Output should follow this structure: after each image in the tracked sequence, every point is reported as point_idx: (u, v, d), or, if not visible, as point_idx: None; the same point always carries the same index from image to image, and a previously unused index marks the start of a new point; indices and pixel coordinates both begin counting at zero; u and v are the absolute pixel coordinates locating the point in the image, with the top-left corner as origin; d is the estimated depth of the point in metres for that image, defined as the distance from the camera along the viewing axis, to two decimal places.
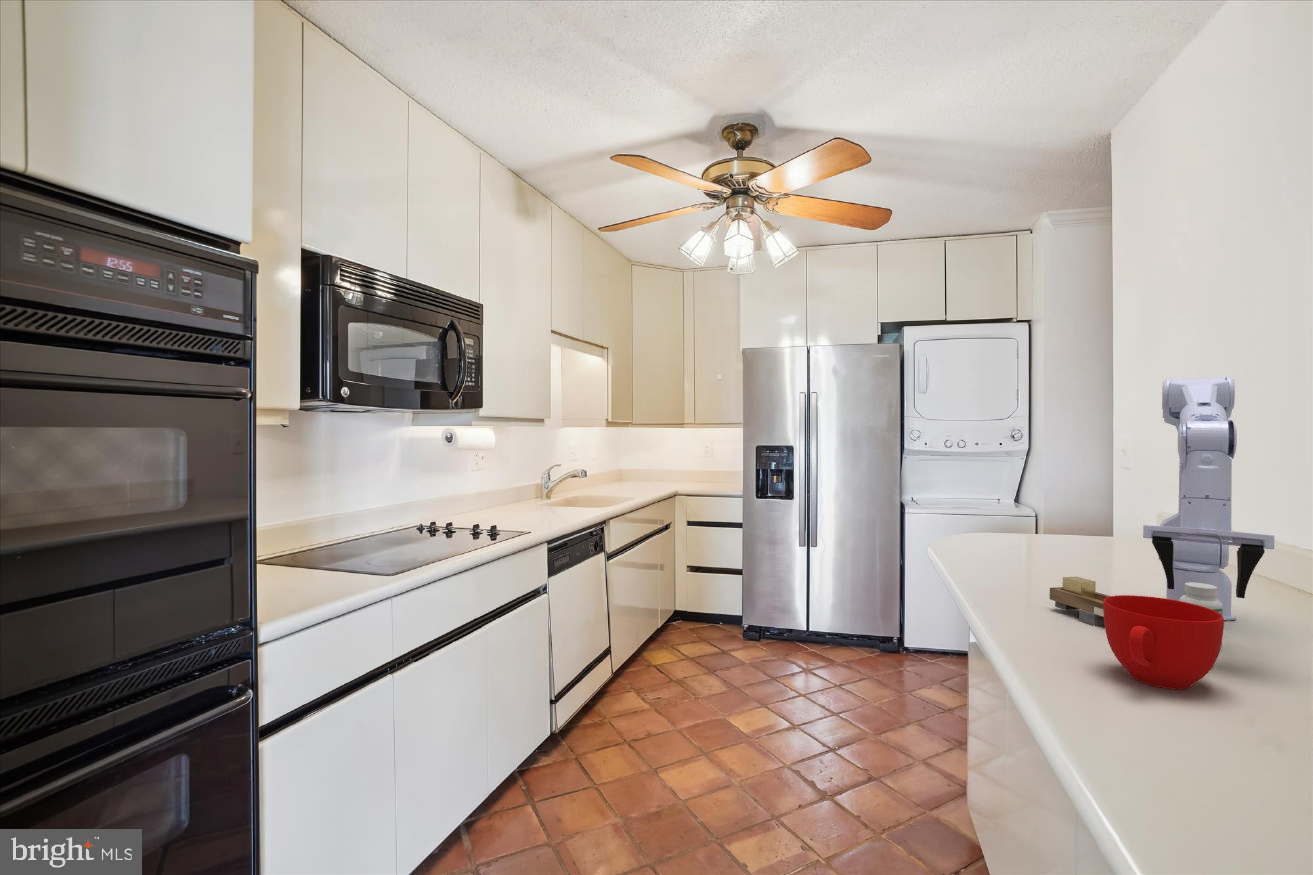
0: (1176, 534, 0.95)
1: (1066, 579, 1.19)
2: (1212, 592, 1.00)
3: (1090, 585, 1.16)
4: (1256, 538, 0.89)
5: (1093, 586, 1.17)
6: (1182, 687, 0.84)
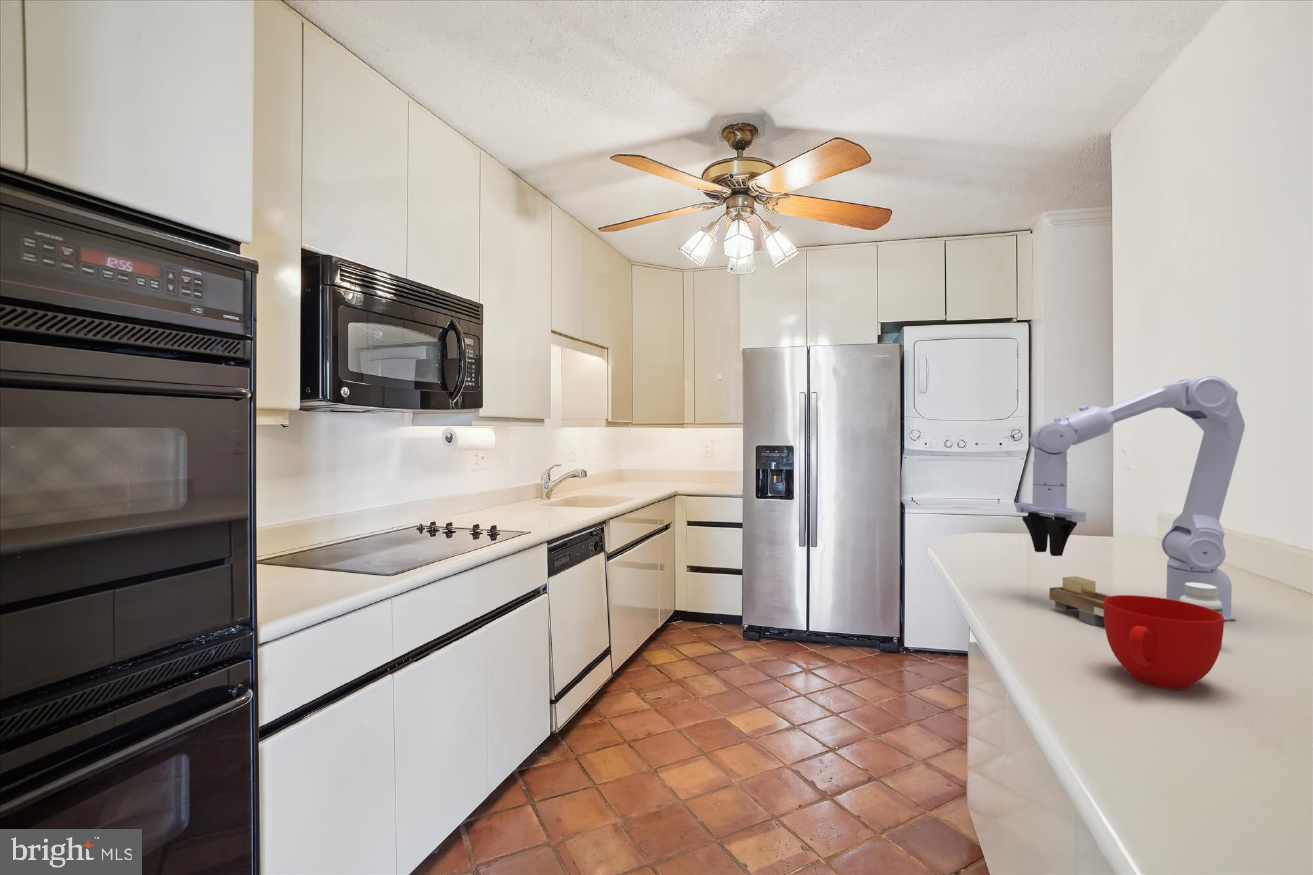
0: None
1: (1066, 579, 1.19)
2: (1212, 592, 1.00)
3: (1090, 585, 1.16)
4: (1067, 514, 1.19)
5: (1093, 586, 1.17)
6: (1182, 687, 0.84)
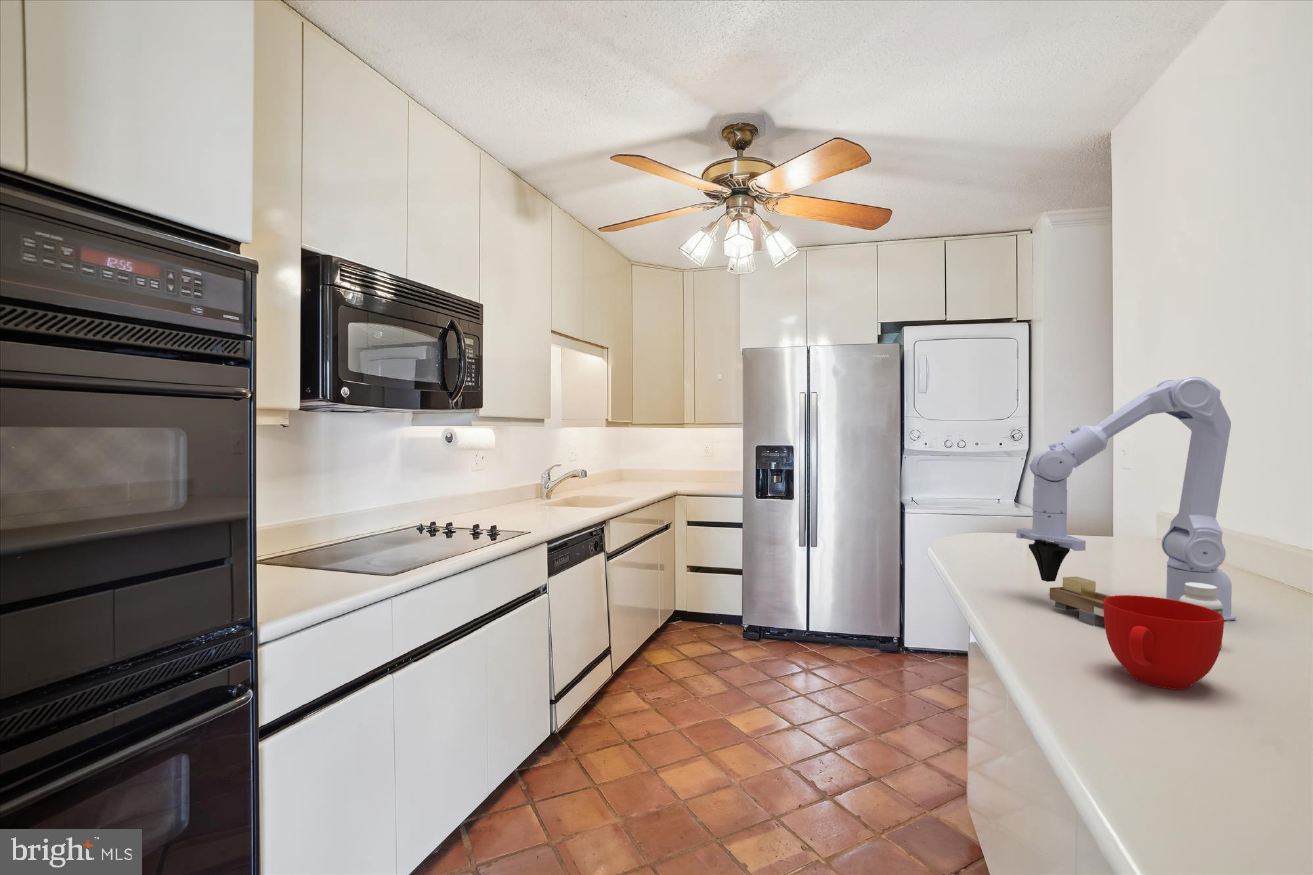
0: None
1: (1066, 579, 1.19)
2: (1212, 592, 1.00)
3: (1090, 585, 1.16)
4: (1067, 542, 1.19)
5: (1093, 586, 1.17)
6: (1182, 687, 0.84)
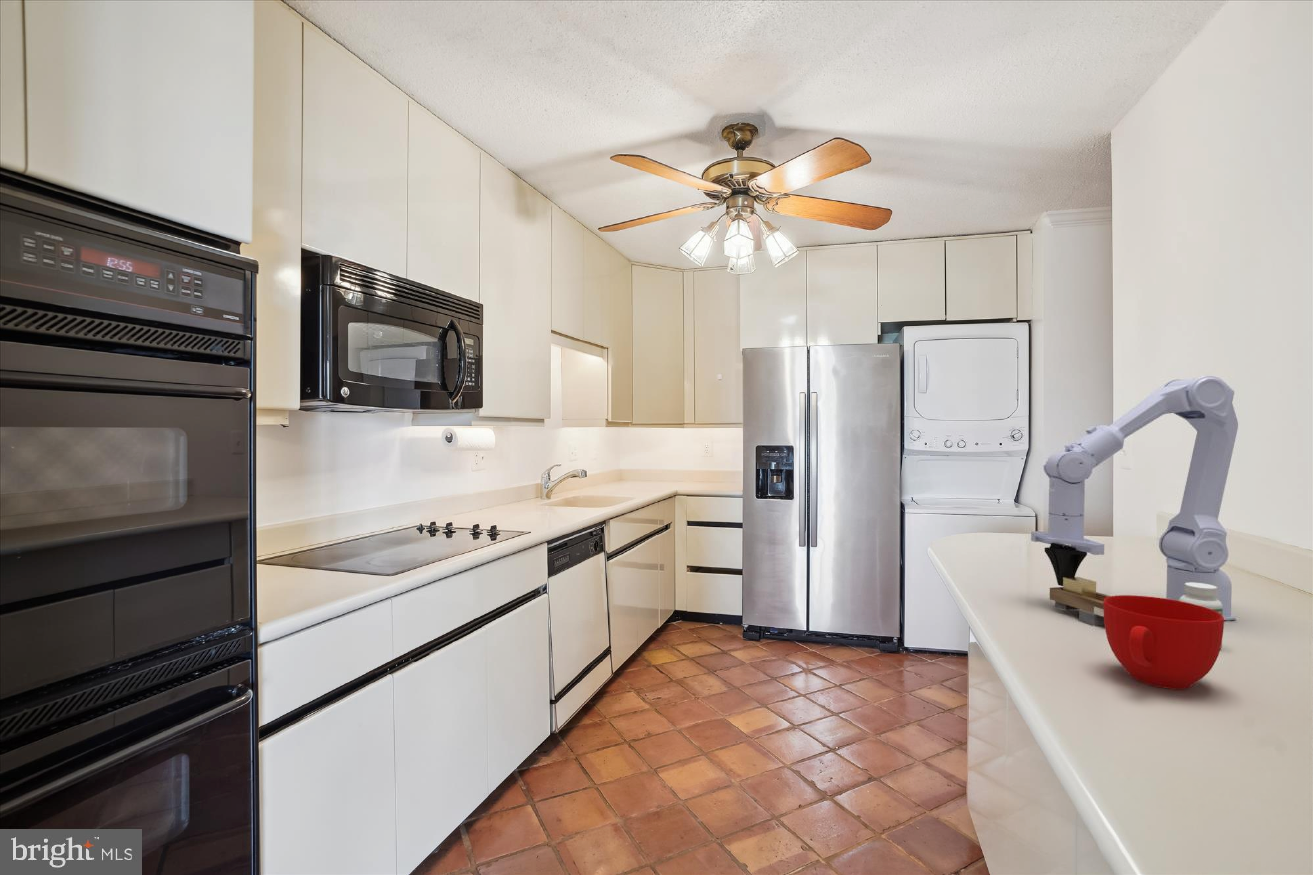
0: None
1: (1067, 579, 1.19)
2: (1212, 592, 1.00)
3: (1091, 585, 1.16)
4: (1085, 546, 1.16)
5: (1094, 586, 1.16)
6: (1182, 687, 0.84)
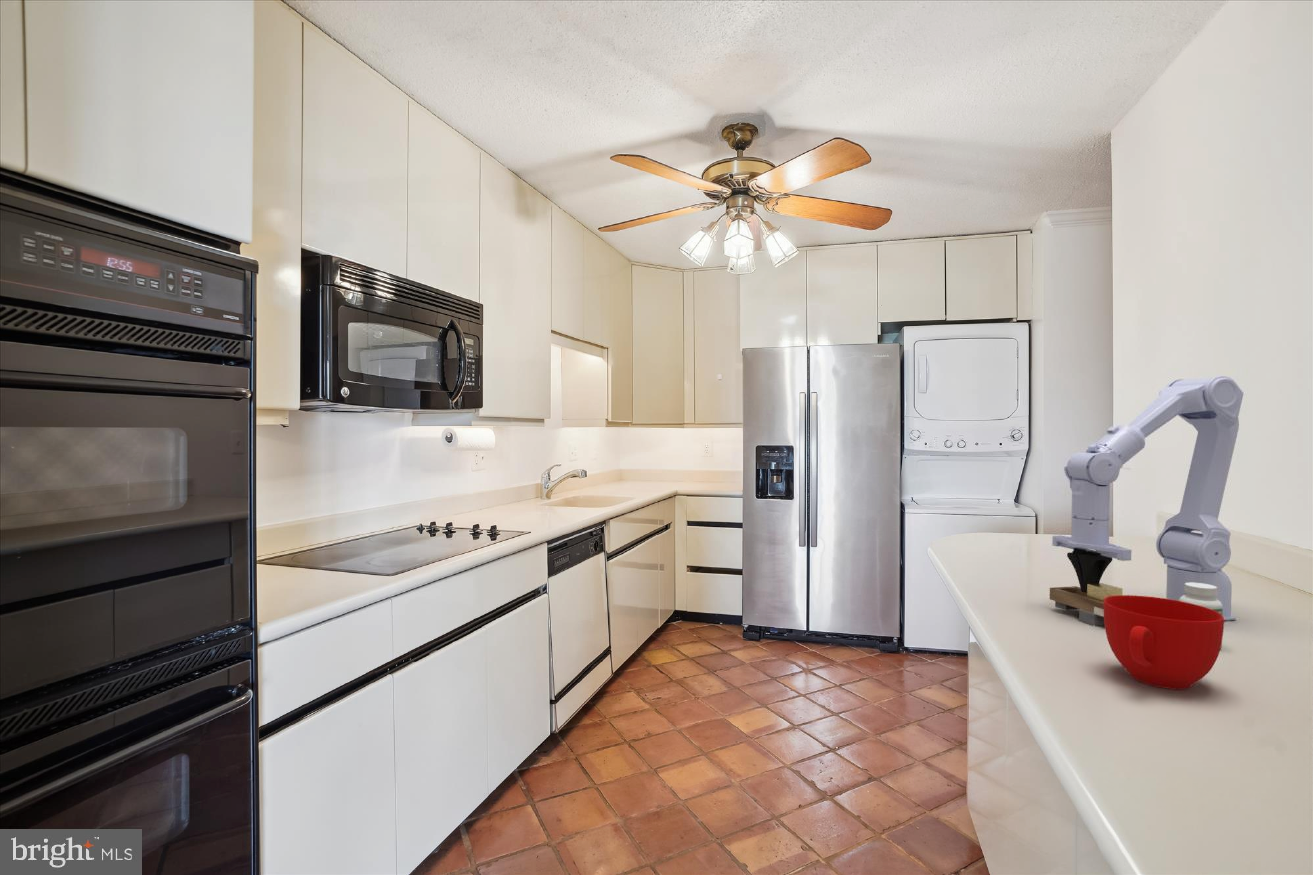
0: None
1: (1091, 586, 1.14)
2: (1212, 592, 1.00)
3: (1117, 593, 1.11)
4: (1111, 551, 1.11)
5: (1120, 593, 1.11)
6: (1182, 687, 0.84)
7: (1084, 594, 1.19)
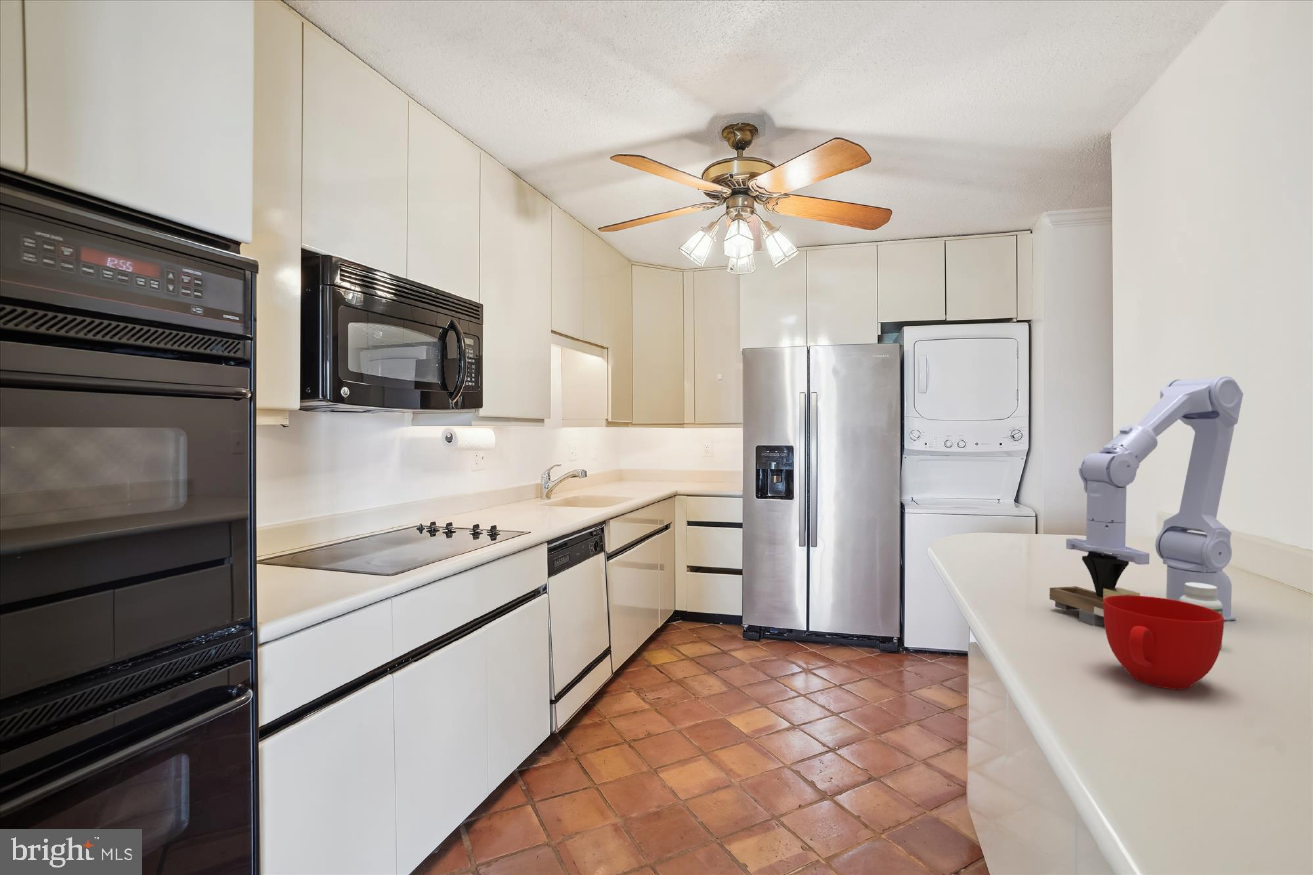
0: None
1: (1107, 590, 1.11)
2: (1212, 592, 1.00)
3: None
4: (1128, 555, 1.08)
5: None
6: (1182, 687, 0.84)
7: (1084, 594, 1.19)
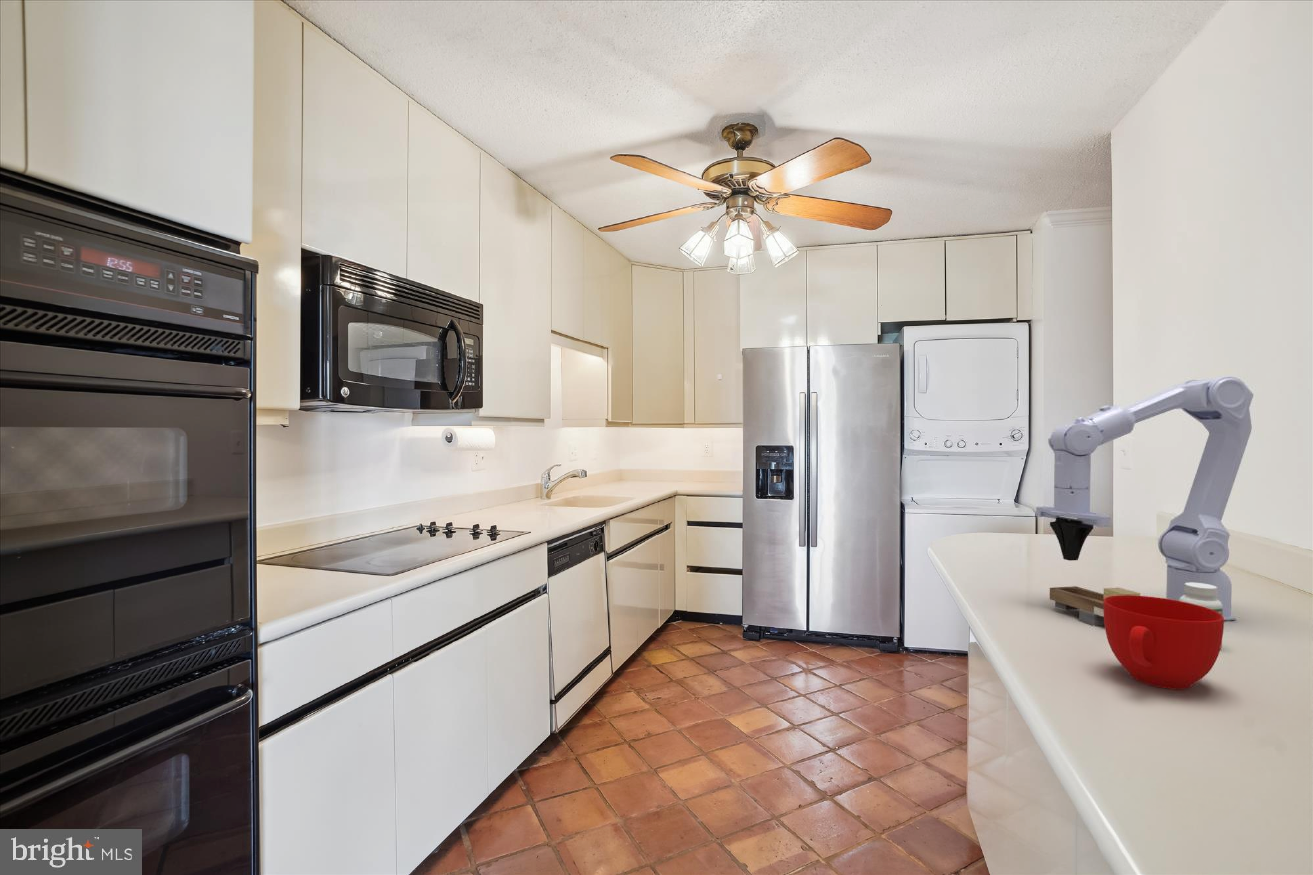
0: None
1: (1107, 590, 1.11)
2: (1212, 592, 1.00)
3: None
4: (1091, 518, 1.14)
5: None
6: (1182, 687, 0.84)
7: (1084, 594, 1.19)
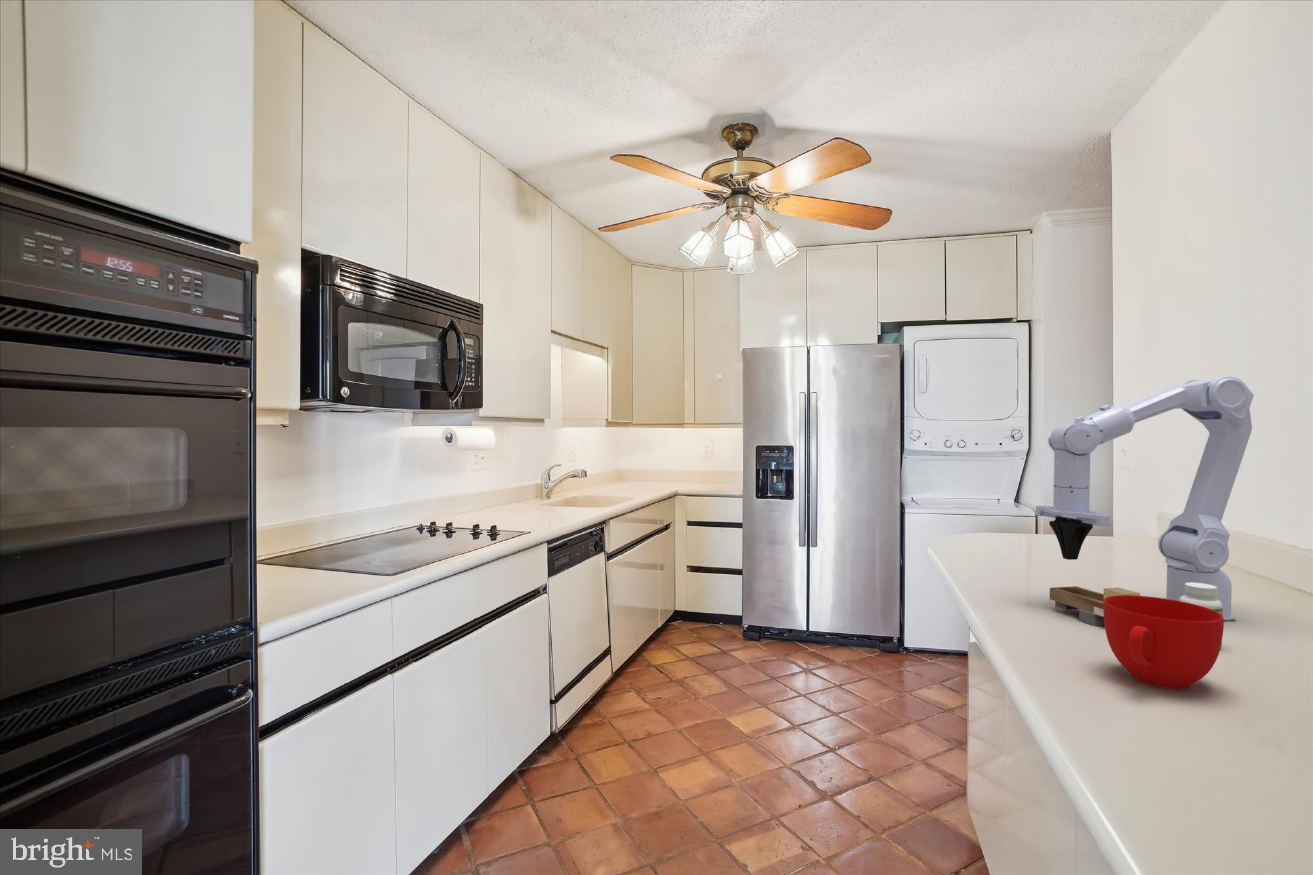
0: None
1: (1107, 590, 1.11)
2: (1212, 592, 1.00)
3: None
4: (1091, 518, 1.14)
5: None
6: (1182, 687, 0.84)
7: (1084, 594, 1.19)
